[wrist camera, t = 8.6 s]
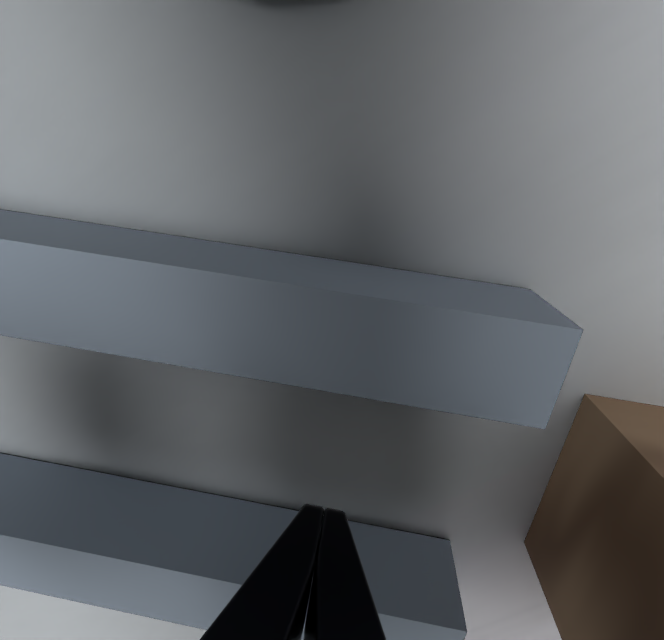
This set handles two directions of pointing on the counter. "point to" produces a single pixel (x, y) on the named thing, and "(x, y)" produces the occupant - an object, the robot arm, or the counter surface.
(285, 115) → the counter surface
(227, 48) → the counter surface
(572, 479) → the walnut block
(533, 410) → the grey piece
